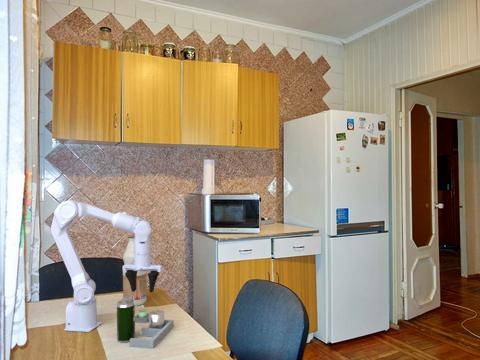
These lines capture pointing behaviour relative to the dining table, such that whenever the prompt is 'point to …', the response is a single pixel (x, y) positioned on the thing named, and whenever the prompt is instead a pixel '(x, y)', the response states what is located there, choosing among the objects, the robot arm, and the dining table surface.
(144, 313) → the button
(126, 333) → the beer can
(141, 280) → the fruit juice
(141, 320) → the button housing
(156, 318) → the metal billet
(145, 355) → the dining table surface
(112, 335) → the dining table surface
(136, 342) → the grey piece
